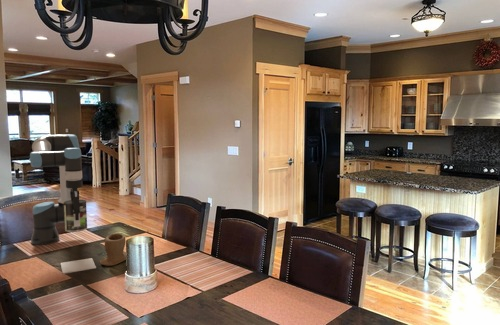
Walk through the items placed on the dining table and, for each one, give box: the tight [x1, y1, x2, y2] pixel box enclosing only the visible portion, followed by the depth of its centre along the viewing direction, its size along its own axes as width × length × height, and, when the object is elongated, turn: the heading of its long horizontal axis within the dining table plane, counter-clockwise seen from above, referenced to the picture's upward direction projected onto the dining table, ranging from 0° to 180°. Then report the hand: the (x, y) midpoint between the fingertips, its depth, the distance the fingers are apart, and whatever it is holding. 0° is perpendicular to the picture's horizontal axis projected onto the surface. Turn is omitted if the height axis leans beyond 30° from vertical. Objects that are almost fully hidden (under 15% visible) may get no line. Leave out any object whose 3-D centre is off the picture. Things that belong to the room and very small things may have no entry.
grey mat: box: [60, 257, 97, 275], centre depth 197 cm, size 15×15×1 cm
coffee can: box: [64, 199, 88, 233], centre depth 195 cm, size 10×10×14 cm
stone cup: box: [99, 232, 127, 267], centre depth 202 cm, size 15×12×15 cm
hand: (76, 223), depth 195 cm, fingers closed on coffee can, 10 cm apart
